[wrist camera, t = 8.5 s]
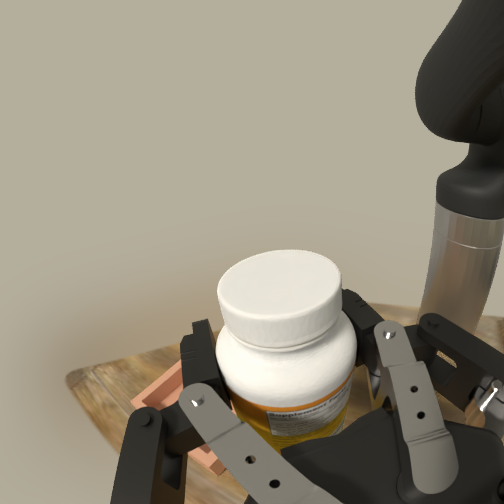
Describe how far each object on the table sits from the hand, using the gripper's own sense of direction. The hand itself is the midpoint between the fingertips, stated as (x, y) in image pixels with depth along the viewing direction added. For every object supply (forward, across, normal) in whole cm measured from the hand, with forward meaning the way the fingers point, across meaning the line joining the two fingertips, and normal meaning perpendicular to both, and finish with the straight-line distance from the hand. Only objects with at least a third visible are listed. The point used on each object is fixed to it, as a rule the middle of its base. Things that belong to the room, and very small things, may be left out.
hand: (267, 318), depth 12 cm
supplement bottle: (-3, 0, +6) cm, 7 cm away
